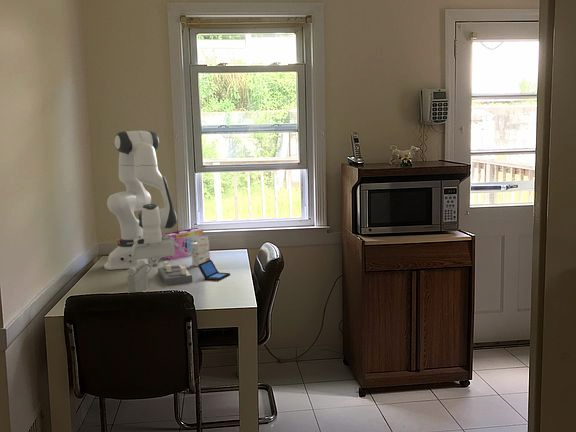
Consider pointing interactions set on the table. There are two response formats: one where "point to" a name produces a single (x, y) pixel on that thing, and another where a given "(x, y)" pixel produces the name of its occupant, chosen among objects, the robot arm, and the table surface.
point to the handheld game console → (211, 271)
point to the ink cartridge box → (200, 251)
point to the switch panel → (174, 275)
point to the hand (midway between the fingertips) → (154, 266)
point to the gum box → (184, 241)
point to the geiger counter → (138, 277)
